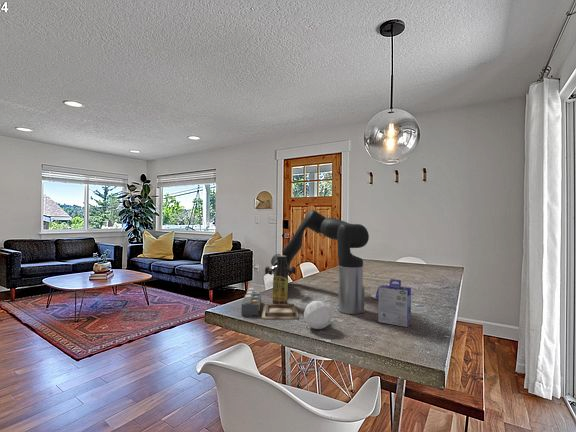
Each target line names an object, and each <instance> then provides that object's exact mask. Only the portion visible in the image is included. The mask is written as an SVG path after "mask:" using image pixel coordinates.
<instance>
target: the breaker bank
mask: <svg viewBox="0 0 576 432" xmlns="http://www.w3.org/2000/svg"><path fill="white" fill-rule="evenodd" d="M254 288H255V287H249V288H248V289H247V291H246V293H245V295H244V297H243V298H244V299H243V301H242V302H241V313H240V314H241V315H258V316H259V314H258V313H260V309H261V305H262V292H255V289H254Z"/></svg>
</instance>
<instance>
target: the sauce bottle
mask: <svg viewBox="0 0 576 432" xmlns="http://www.w3.org/2000/svg"><path fill="white" fill-rule="evenodd" d="M286 259H287V256H284V254H283V255H282V254H280V255H278V256H277V267H276V269H275V271H274V274H273V276H272V278H273V279H272V304H288V293H289V292H288V289H289V274H288V271H287V269H286Z"/></svg>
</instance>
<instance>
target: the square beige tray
mask: <svg viewBox="0 0 576 432" xmlns="http://www.w3.org/2000/svg"><path fill="white" fill-rule="evenodd" d="M299 319H300V317H299V312H298V307H297V306H295V305H294V303H286V304H273V303H267V304H266V305H265V306H263V309H262V313H261V320H299Z"/></svg>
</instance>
